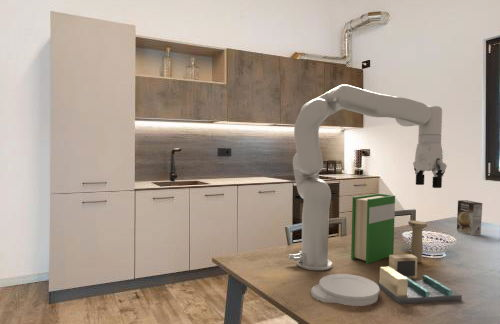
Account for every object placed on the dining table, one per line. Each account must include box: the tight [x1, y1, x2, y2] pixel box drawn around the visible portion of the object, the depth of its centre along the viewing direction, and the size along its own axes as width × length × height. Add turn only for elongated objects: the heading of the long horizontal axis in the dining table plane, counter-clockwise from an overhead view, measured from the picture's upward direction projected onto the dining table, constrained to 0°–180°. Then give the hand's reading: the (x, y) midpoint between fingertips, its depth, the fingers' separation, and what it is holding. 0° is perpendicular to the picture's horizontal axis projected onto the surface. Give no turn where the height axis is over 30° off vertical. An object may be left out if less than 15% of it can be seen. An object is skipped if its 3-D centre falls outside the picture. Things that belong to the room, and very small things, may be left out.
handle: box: [407, 220, 428, 263], centre depth 133 cm, size 5×6×15 cm
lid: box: [310, 273, 381, 307], centre depth 103 cm, size 17×20×3 cm
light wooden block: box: [388, 253, 418, 279], centre depth 117 cm, size 8×4×7 cm, turn 98°
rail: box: [377, 266, 463, 305], centre depth 104 cm, size 19×12×6 cm, turn 98°
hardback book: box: [350, 193, 396, 265], centre depth 138 cm, size 18×7×24 cm, turn 128°
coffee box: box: [456, 199, 483, 236], centre depth 178 cm, size 9×6×16 cm
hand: (428, 186), depth 130 cm, fingers open, 9 cm apart
